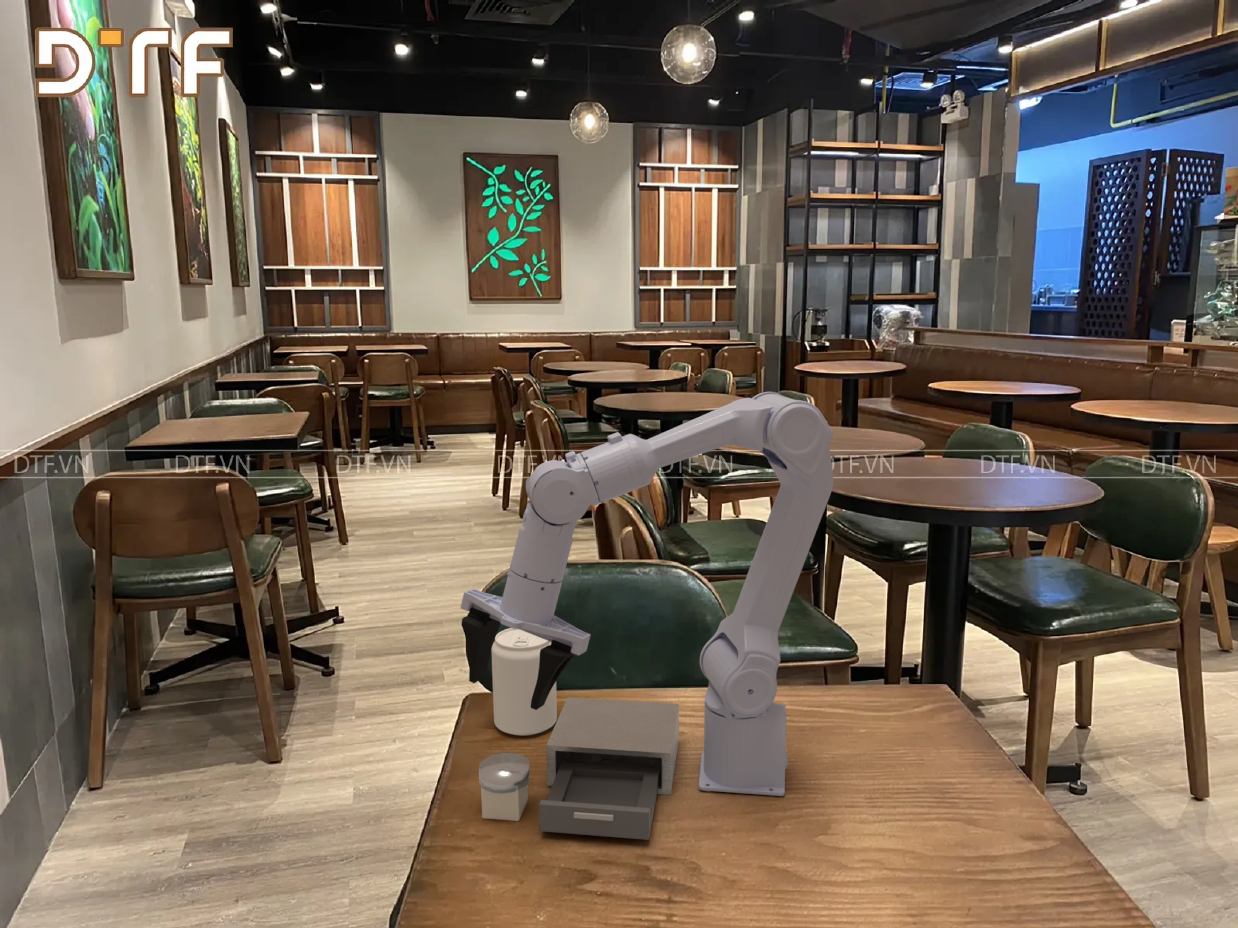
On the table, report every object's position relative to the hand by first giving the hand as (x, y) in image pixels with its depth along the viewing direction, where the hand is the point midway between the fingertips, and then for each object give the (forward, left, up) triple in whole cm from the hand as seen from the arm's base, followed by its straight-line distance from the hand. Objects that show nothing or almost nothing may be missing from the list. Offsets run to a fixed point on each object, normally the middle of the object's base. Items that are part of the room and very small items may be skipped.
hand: (506, 692), depth 94 cm
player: (-10, -9, -13) cm, 19 cm away
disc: (0, +2, -9) cm, 9 cm away
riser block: (0, +2, -13) cm, 13 cm away
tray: (-11, +1, -12) cm, 16 cm away
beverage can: (+3, -17, -13) cm, 22 cm away
